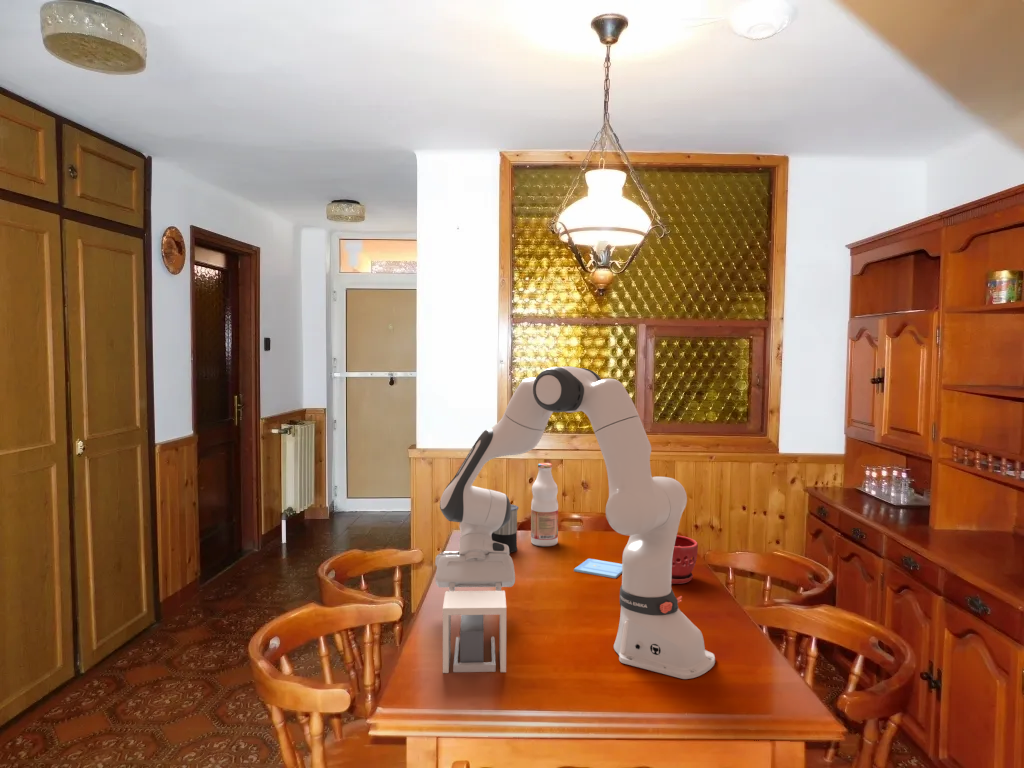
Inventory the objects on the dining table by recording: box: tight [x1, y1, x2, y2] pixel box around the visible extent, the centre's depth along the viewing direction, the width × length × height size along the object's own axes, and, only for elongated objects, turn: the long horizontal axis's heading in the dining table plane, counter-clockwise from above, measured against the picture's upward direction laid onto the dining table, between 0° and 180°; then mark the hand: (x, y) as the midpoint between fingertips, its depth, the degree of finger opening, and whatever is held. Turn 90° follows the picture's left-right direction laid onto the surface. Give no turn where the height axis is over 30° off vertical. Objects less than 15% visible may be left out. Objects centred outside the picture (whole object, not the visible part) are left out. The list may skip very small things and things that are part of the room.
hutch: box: [442, 590, 507, 674], centre depth 153 cm, size 16×13×14 cm
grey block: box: [459, 615, 485, 663], centre depth 153 cm, size 13×5×8 cm, turn 3°
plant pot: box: [671, 534, 699, 585], centre depth 204 cm, size 13×13×12 cm
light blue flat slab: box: [573, 558, 622, 579], centre depth 213 cm, size 14×12×1 cm
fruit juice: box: [530, 462, 559, 547], centre depth 240 cm, size 9×9×28 cm
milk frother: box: [492, 504, 519, 554], centre depth 228 cm, size 14×16×15 cm
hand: (475, 602), depth 170 cm, fingers open, 8 cm apart
